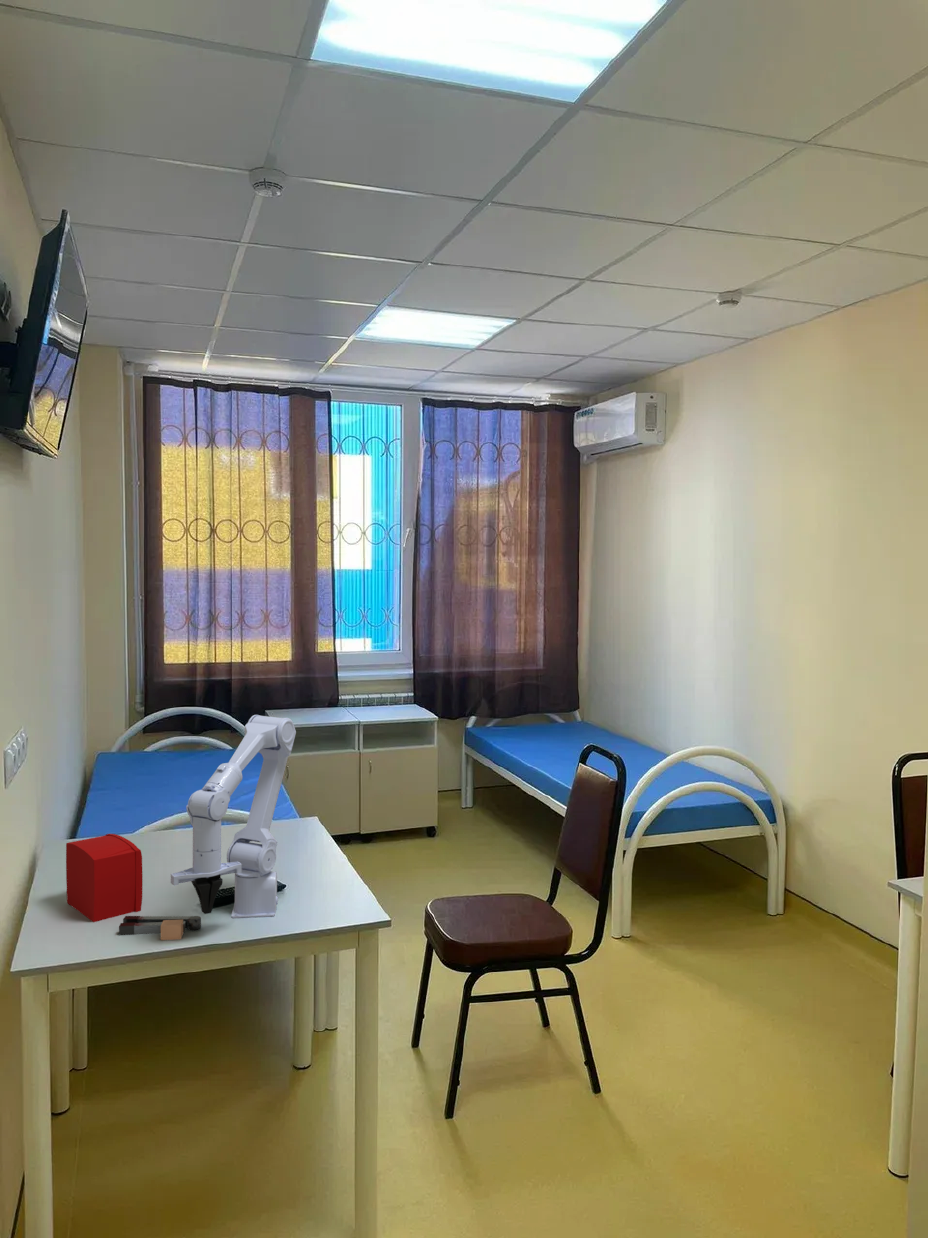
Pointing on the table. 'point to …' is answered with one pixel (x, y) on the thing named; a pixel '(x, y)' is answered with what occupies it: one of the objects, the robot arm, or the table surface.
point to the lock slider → (171, 929)
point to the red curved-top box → (104, 876)
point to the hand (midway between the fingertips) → (206, 912)
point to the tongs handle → (142, 928)
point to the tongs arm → (191, 921)
